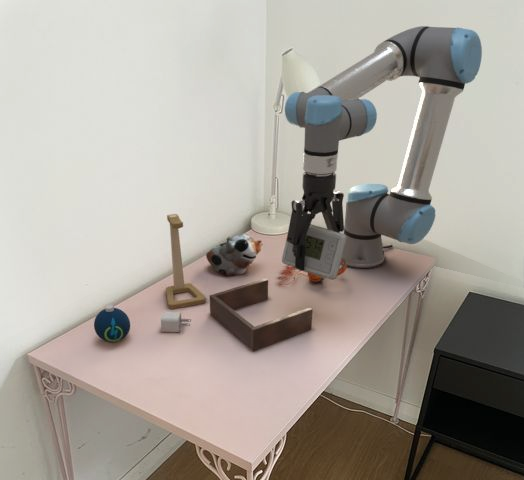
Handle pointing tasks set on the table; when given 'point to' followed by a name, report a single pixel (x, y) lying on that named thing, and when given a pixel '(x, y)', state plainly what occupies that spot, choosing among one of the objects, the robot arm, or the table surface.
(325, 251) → the digital clock
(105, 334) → the christmas ornament
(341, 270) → the headphones
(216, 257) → the spotted toy animal
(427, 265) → the table surface
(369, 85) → the robot arm
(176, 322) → the usb wall charger
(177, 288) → the headphone stand
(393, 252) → the table surface
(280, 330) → the walnut rack
